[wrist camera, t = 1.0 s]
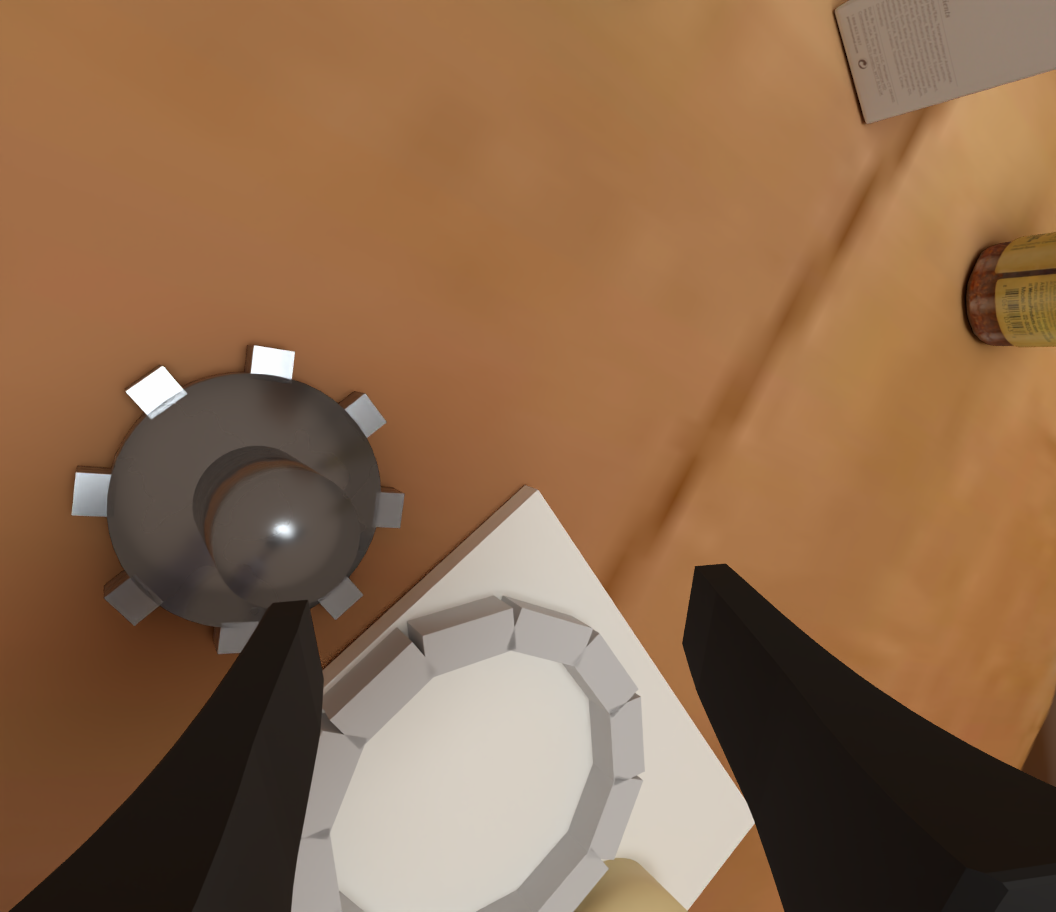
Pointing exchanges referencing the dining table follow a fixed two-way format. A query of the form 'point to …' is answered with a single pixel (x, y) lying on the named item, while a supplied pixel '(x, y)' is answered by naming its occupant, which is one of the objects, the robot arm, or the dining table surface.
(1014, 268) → the sauce bottle
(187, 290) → the dining table surface
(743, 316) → the dining table surface
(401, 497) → the gear
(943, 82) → the small box
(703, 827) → the carrier plate
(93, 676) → the dining table surface
